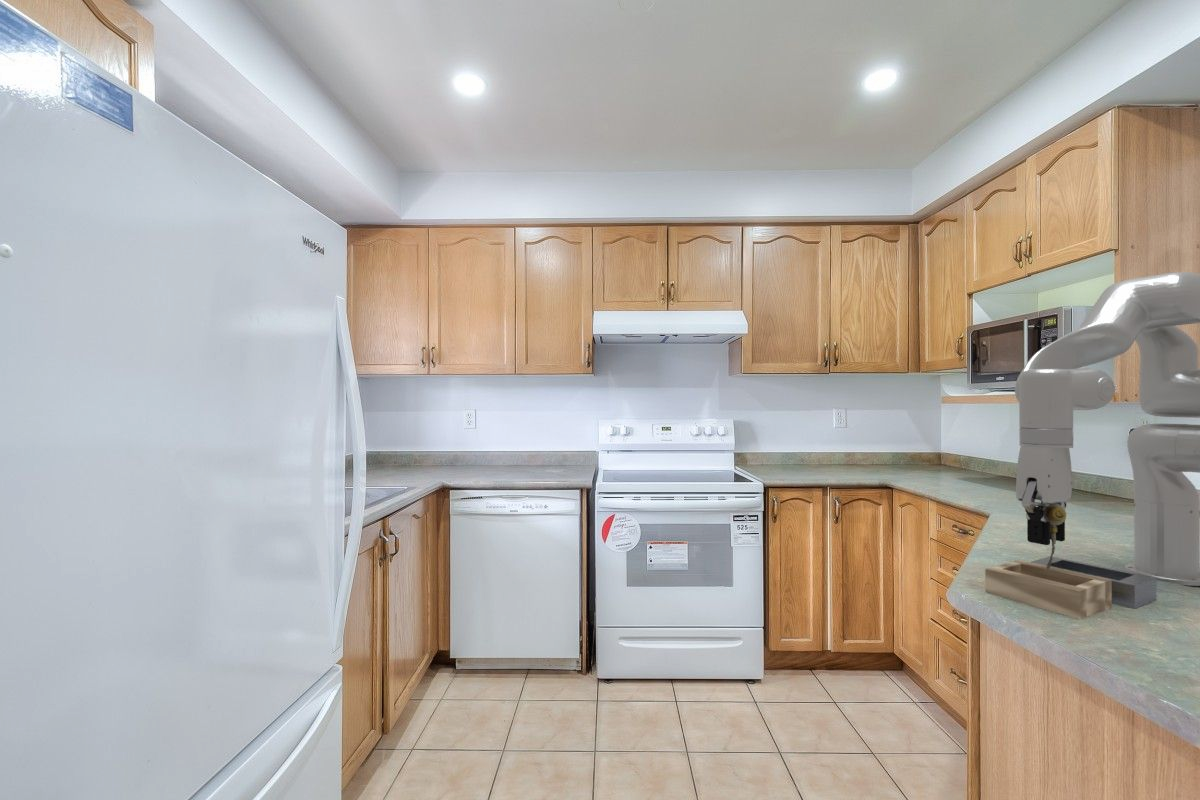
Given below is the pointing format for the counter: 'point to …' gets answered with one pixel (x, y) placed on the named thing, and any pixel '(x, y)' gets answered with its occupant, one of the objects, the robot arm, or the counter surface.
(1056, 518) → the regulator
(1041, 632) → the counter surface
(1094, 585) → the socket
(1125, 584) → the gray rectangular tray
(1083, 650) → the counter surface
